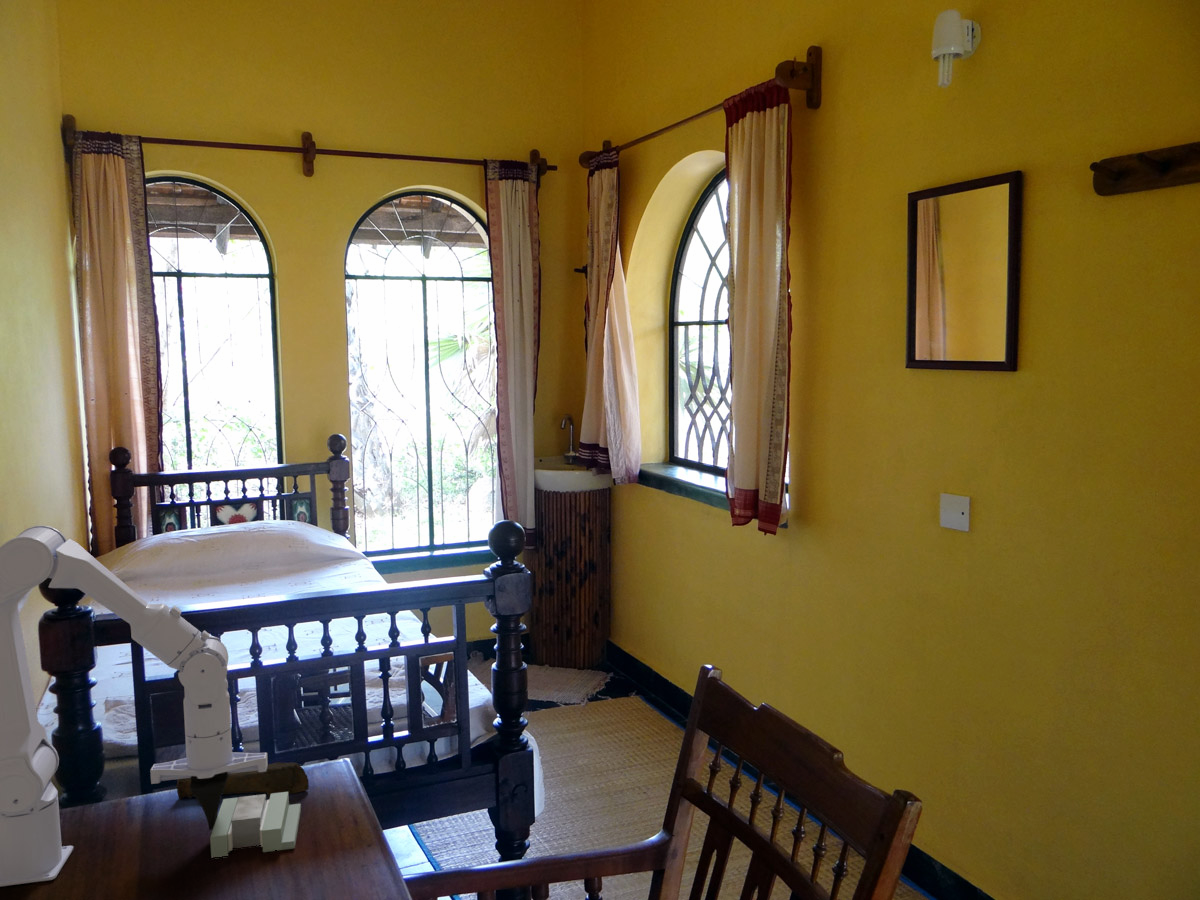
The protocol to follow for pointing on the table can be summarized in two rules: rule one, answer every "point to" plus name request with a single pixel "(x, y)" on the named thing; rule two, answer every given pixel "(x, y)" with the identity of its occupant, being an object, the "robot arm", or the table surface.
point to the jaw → (223, 829)
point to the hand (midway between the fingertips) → (213, 826)
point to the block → (248, 820)
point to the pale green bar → (279, 823)
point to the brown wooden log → (259, 781)
